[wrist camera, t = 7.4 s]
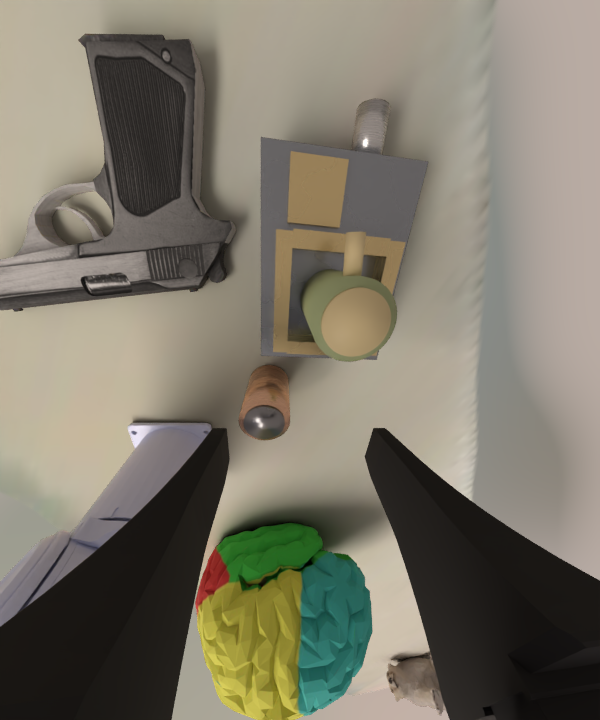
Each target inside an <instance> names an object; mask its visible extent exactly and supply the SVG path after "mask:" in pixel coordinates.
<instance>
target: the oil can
mask: <svg viewBox="0 0 600 720" xmlns="http://www.w3.org/2000/svg"><path fill="white" fill-rule="evenodd" d="M365 239H366V232H347V233H346V241H345V254H344V267H343V271H339V270H334V269H327V270H322V271H320V272H318V273H316V274H314V275H313V276H312V277H311V278H309V280H308V281H307V282H306V284H305V285H304V287H303V290H302V293H301V307H302V310H303V313H304V315H305V318H306V320H307V323H308V325H309V328H310V330H311V332H312V335H313V337H314V340H315V342H316V344H317V345H318V347H319V348H320V349H321V350H322V351H323V352H324V353H325V354H326V355H328V356H329V357H331V358H333V359H336V360H339V361H349V362H350V361H358V360H361V359H364V358H367V357H369V356H371V355H373V354H374V353H376V352H377V351H378V350H379V349H381V348H382V347H383V346H384V344H385V343H386V342H387V341H388V339H389V338H390V336H391V334H392V332H393V330H394V327H395V324H396V318H397V308H396V303H395V300H394V297H393V295H392V294H391V292H390V291H389V289H388V288H387V287H386V286H385V285H383V284H382V283H381V282H379V281H377V280H375V279H372V278H368V277H364V276H361V274H362V265H363V256H364V248H365Z"/></svg>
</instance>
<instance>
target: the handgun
mask: <svg viewBox="0 0 600 720" xmlns="http://www.w3.org/2000/svg"><path fill="white" fill-rule="evenodd" d="M79 42H80V43H81V44H82V45H83V46H84V47H85V48H86V53H87V59H88V64H89V69H90V74H91V79H92V84H93V89H94V94H95V100H96V105H97V110H98V115H99V120H100V125H101V130H102V135H103V141H104V155H105V164H104V166H103V168H102V170H101V173H100V174H99V175H98V176H97V177H96V178H94V179H93V182H89V183H79V184H66V185H63V186H61V187H58V188H56V189H53V190H51V191H50V192H48V193H47V194H45V195H43V196H42V197H41V199H40V200H39V201H38V203H37V204H36V205H35V206H34V208H33V210H32V212H31V214H30V216H29V220H28V227H27V235H26V238H25V241H24V244H23V246H22V247H21V249H20V250H19V251H18V253H16V254H15V255H14V256H13V257H10V258H5V259H0V310H9V309H13V310H14V311H22V310H23V309H22V308H27V307H36V306H45V305H54V304H63V303H71V302H80V301H89V300H98V299H107V298H116V297H125V296H134V295H142V294H151V293H160V292H169V291H178V290H187V289H189V290H190V292H195V291H198V288H201V287H203V285H204V284H205V282H206V280H207V279H208V277H209V278H210V280H211V281H212V282H216V283H218V282H221V281H223V280H224V279H225V278H226V276H227V272H226V269H225V267H224V263H223V257H224V252H225V249H226V247H227V246H228V244H230V242H231V240H232V238H233V236H234V234H235V232H236V228H235V224H234V223H233V222H231V221H226V220H215V219H214V218H212V217H211V216H210V215H208V213H207V212H206V210H205V208H204V206H203V204H202V202H201V200H200V195H201V172H202V150H203V127H204V104H205V86H204V81H203V75H202V70H201V64H200V62H199V59H198V57H197V54H196V52H195V50H194V47H193V45H192V42H191V41H190V40H189V39H182V40H165V38H164V36H163V35H135V34H85V35H83V36H82V37H81V38H80V39H79ZM93 191H96V192H97V193H98V194H99V195H100V196H101V197H102V198H103V199H104V200H105V201H106V203H107V204H108V206H109V207H110V209H111V212H112V215H113V224H114V226H113V228H112V230H111V232H110V234H109V235H108V236H106V237H105V236H104V235H103V233H102V231H101V230H100V228H99V227H98V226H97V225H96V223H95V222H94V221H93V220H92V219H91V218H90V217H89V216H88V215H86V214H85V213H83V212H81V211H79V210H77V209H73V208H69V207H62V206H60V205H61V204H62V203H63V202H64V201H65V200H67V199H69V198H71V197H72V196H74V195H77V194H81V193H86V192H93ZM57 209H59V210H69V211H71V212H73V213H74V214H76V215H77V216H78V217H79V218H81V219H82V220H83V221H84V222H85V224H86V225H87V227H88V228H89V230H90V231H91V233H92V237H93V240H94V241H89V242H84V243H79V244H74V245H69V244H67V243H65V242H64V241H62V240H61V239H60V238H59V237H58V235H57V234H56V232H55V230H54V228H53V225H52V216H53V215H54V213H55V211H56V210H57Z"/></svg>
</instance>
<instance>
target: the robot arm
mask: <svg viewBox="0 0 600 720" xmlns="http://www.w3.org/2000/svg"><path fill="white" fill-rule="evenodd" d="M128 431H129V434H130V437H131V439H132V442H133V445H134V447H135V450H134V451H133V452H132V454H131V455H130V456H129V458H128V459H127V460H126V462H125V463H124V464H123V465H122V467H121V468H120V469H119V471H118V472H117V473H116V475H115V476H114V477H113V479H112V480H111V481H110V483H109V484H108V485H107V487H106V488H105V489H104V491H103V492H102V493H101V494H100V496H99V497H98V498H97V500H96V501H95V502H94V504H93V505H92V506H91V508H90V509H89V510H88V512H87V513H86V514H85V516H84V517H83V518H82V520H81V521H80V522H79V524H78V525H77V526H76V527H75V529H74V530H72V531H71V532H70V533H69V532H67V531H64V530H61V531H58V532H57V533H55V534H54V535H51V536H49V537H46V538H44V539H42V540H40V541H39V542H38V543H37V544H36V545H35V546H33V548H31V549H30V550H29V551H28V552H27V553H26V554H25V556H24V557H23V558H22V559H21V560H20V561H19V562H18V563H17V564H16V565H15V566H14V567H13V568H12V569H11V570H10V571H9V572H8V573H7V575H6V576H5V577H4V578H3V579H2V580H1V581H0V720H171V719H172V713H173V708H174V701H175V697H176V691H177V686H178V681H179V675H180V670H181V664H182V659H183V654H184V649H185V644H186V638H187V634H188V629H189V623H190V619H191V614H192V609H193V604H194V599H195V595H196V590H197V585H198V580H199V576H200V571H201V567H202V562H203V557H204V553H205V549H206V545H207V541H208V538H209V534H210V531H211V528H212V524H213V521H214V518H215V514H216V511H217V508H218V504H219V501H220V498H221V494H222V491H223V488H224V484H225V480H226V475H227V470H228V464H229V449H228V438H227V428H213V429H212V428H211V425H210V424H208V423H131V424H130V425H129V426H128ZM135 431H136V432H135ZM206 431H208V432H206ZM365 459H366V463H367V466H368V470H369V473H370V476H371V479H372V481H373V484H374V486H375V489H376V491H377V494H378V496H379V498H380V501H381V503H382V505H383V508H384V510H385V512H386V515H387V517H388V519H389V522H390V524H391V527H392V529H393V532H394V534H395V537H396V539H397V542H398V545H399V548H400V551H401V554H402V557H403V560H404V563H405V566H406V569H407V573H408V576H409V579H410V582H411V585H412V589H413V592H414V595H415V598H416V602H417V605H418V609H419V612H420V616H421V619H422V623H423V626H424V630H425V633H426V637H427V641H428V645H429V648H430V652H431V656H432V660H433V664H434V667H435V671H436V675H437V679H438V683H439V687H440V691H441V695H442V700H443V702H444V705H445V708H446V711H447V713H448V716H449V719H450V720H600V581H599V580H598V579H596V578H594V577H592V576H590V575H589V574H587V573H585V572H583V571H581V570H580V569H578V568H576V567H574V566H572V565H571V564H569V563H567V562H565V561H563V560H562V559H560V558H558V557H557V556H555V555H553V554H551V553H550V552H548V551H547V550H545V549H543V548H542V547H540V546H538V545H537V544H535V543H533V542H532V541H530V540H528V539H527V538H525V537H524V536H522V535H520V534H519V533H517V532H516V531H514V530H513V529H511V528H510V527H508V526H506V525H505V524H504V523H502V522H501V521H499V520H497V519H496V518H495V517H493V516H492V515H490V514H488V513H487V512H485V511H484V510H483V509H481V508H480V507H479V506H477V505H476V504H474V503H473V502H472V501H470V500H469V499H468V498H466V497H465V496H464V495H462V494H461V493H460V492H458V491H457V490H456V489H454V488H453V487H452V486H451V485H449V484H448V483H447V482H446V481H444V480H443V479H442V478H441V477H440V476H438V475H437V474H436V473H435V472H433V471H432V470H431V469H430V468H429V467H428V466H426V465H425V464H424V463H423V462H422V461H421V460H420V459H418V458H417V457H416V456H415V455H414V454H413V453H412V452H411V451H410V450H408V449H407V448H406V447H405V446H404V445H403V444H402V443H401V442H400V441H399V440H398V439H397V438H395V437H394V436H393V435H392V434H391V433H390V432H389V431H388V430H386V429H385V428H373V432H372V435H371V438H370V441H369V445H368V448H367V451H366V455H365Z"/></svg>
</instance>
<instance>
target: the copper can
mask: <svg viewBox="0 0 600 720" xmlns="http://www.w3.org/2000/svg"><path fill="white" fill-rule="evenodd" d="M289 424H290V407H289V381H288V377H287V375H286V373H285V372H284V371H283V370H282V369H281V368H279V367H277V366H273V365H265V366H261V367H259V368H257V369H256V370H255V371H254V372H253V373H252V375H251V377H250V380H249V384H248V387H247V391H246V394H245V398H244V401H243V404H242V408H241V411H240V415H239V425H240V427H241V429H242V430H243V432H244V433H245V434H247V435H248V436H250V437H252V438H255V439H258V440H271V439H275V438H277V437H279V436H281V435H282V434H284V433H285V432H286V430H287V429H288V427H289Z"/></svg>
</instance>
